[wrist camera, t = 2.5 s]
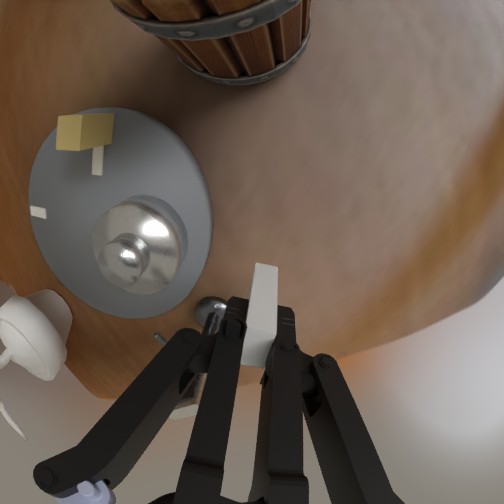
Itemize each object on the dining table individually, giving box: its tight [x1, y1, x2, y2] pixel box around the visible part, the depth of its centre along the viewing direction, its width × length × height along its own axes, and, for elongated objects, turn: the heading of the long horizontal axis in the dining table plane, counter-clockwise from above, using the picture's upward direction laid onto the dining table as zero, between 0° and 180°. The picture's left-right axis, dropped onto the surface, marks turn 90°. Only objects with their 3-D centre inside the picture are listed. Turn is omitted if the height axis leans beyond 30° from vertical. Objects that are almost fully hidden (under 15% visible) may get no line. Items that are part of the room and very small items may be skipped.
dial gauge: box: [154, 297, 227, 420], centre depth 22 cm, size 7×4×12 cm, turn 39°
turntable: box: [28, 107, 214, 319], centre depth 20 cm, size 20×20×6 cm
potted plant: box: [0, 289, 73, 440], centre depth 20 cm, size 13×12×25 cm
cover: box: [92, 195, 188, 295], centre depth 18 cm, size 7×7×5 cm
